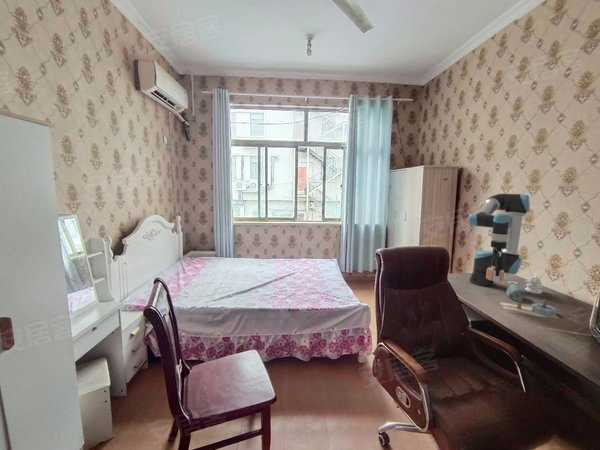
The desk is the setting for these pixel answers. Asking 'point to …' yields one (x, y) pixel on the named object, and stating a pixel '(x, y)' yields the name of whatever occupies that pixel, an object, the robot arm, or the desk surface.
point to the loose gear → (491, 274)
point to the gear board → (524, 308)
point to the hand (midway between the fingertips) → (494, 279)
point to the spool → (515, 292)
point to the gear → (543, 309)
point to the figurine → (534, 285)
